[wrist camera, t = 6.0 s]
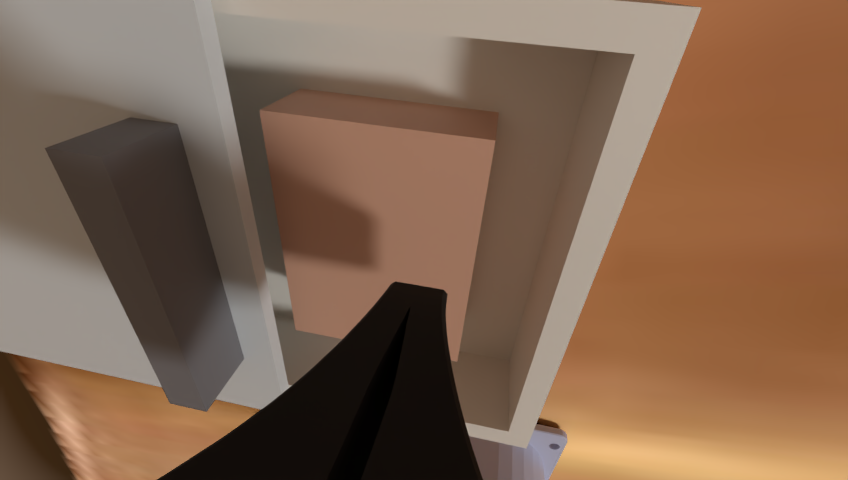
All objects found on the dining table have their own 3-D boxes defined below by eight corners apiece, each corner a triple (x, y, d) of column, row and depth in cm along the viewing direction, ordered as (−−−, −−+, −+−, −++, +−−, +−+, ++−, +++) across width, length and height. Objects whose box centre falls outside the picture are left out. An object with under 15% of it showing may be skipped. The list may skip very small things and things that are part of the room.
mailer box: (524, 361, 18) (526, 448, 15) (162, 292, 20) (93, 353, 17) (640, -2, 10) (701, 7, 7) (23, -54, 12) (-160, -66, 9)
